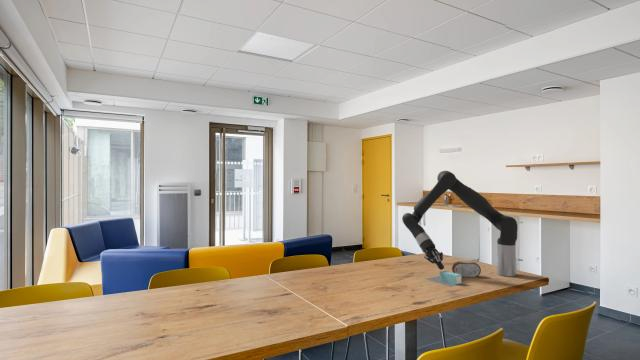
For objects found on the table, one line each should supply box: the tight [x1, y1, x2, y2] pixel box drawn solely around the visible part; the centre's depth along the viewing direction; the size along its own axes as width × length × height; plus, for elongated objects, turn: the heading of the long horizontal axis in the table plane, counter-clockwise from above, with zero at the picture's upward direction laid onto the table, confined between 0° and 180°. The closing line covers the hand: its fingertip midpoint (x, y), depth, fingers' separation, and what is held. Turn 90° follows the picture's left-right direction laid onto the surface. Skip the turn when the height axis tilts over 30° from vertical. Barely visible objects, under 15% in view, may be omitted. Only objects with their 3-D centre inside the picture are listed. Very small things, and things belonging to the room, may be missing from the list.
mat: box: [425, 275, 469, 287], centre depth 191 cm, size 14×17×1 cm
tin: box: [451, 261, 482, 278], centre depth 201 cm, size 15×3×8 cm, turn 84°
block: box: [439, 270, 462, 286], centre depth 188 cm, size 4×4×10 cm
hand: (442, 268), depth 193 cm, fingers closed
